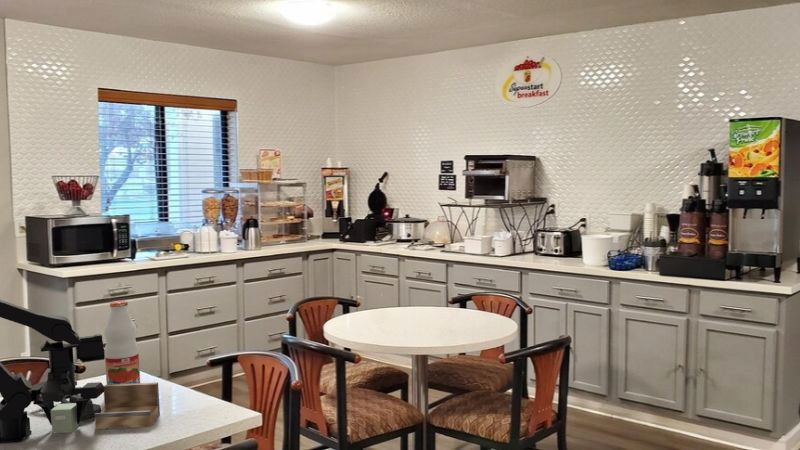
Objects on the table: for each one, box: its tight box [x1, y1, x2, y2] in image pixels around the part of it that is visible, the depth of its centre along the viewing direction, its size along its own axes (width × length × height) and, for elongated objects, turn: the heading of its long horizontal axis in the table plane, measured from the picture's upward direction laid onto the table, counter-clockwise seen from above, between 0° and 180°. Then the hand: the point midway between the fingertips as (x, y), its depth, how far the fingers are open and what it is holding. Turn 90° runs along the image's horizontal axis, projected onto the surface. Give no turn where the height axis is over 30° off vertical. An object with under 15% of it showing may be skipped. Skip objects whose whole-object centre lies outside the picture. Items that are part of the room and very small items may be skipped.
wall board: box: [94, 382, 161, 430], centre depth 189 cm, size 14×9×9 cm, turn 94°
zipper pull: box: [34, 380, 102, 423], centre depth 199 cm, size 9×7×25 cm
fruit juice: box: [103, 300, 141, 385], centre depth 212 cm, size 9×9×28 cm
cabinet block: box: [51, 403, 81, 434], centre depth 184 cm, size 5×6×6 cm
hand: (65, 424), depth 185 cm, fingers open, 6 cm apart
